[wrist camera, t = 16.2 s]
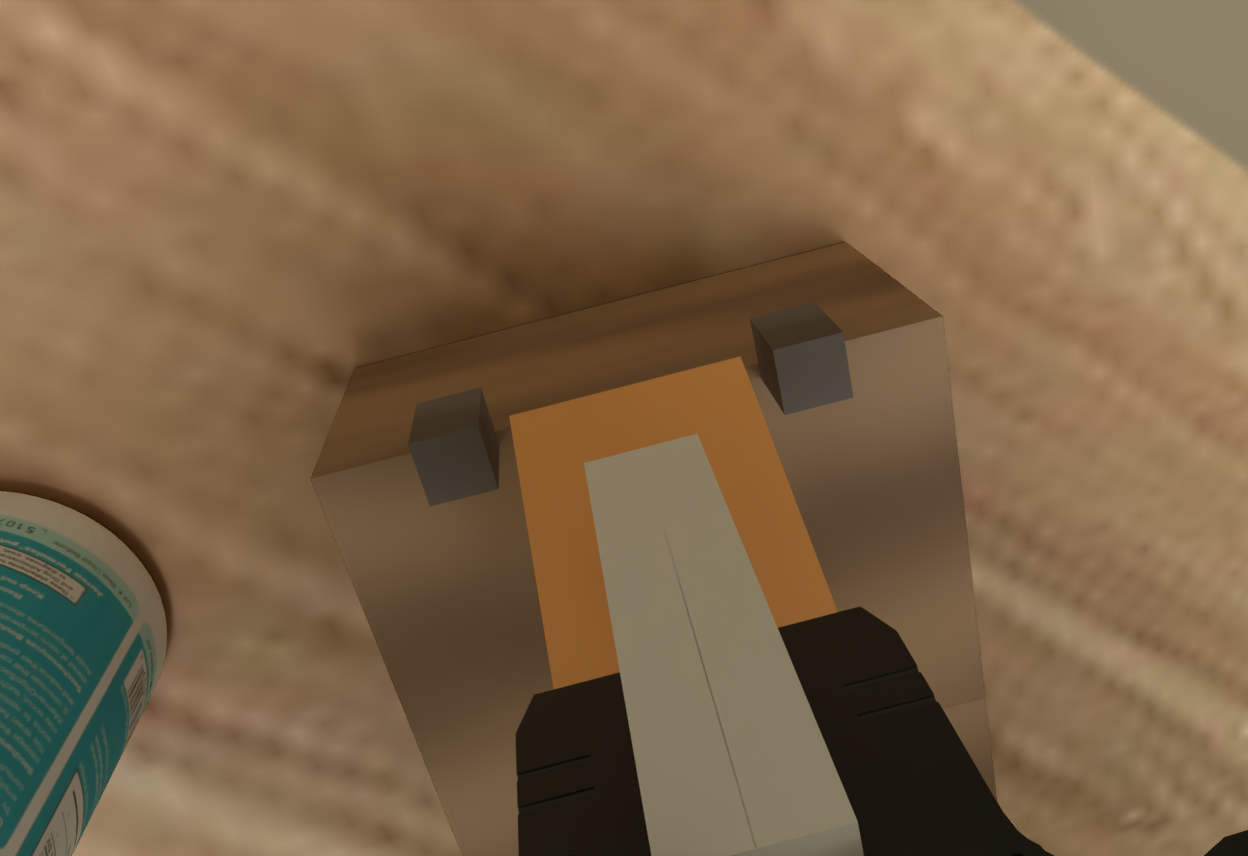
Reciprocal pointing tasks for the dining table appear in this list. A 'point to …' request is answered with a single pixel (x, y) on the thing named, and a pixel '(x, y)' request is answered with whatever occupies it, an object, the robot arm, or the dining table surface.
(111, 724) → the pill bottle
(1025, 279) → the dining table surface
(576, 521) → the plate
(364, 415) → the block
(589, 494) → the robot arm
